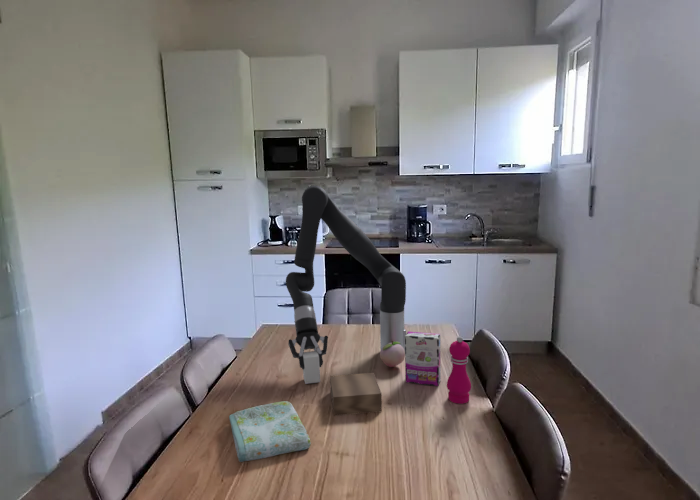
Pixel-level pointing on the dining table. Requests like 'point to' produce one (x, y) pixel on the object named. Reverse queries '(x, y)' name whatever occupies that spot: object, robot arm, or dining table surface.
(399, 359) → the decorative fruit
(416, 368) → the candy bar box
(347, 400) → the walnut block
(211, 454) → the dining table surface
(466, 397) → the pepper mill
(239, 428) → the towel
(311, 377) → the pale grey block
